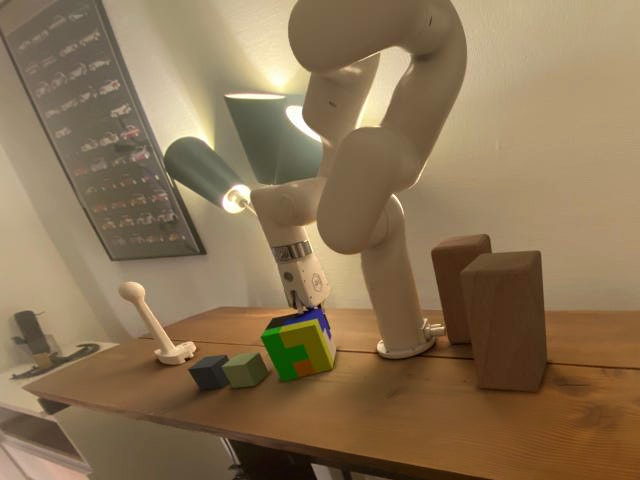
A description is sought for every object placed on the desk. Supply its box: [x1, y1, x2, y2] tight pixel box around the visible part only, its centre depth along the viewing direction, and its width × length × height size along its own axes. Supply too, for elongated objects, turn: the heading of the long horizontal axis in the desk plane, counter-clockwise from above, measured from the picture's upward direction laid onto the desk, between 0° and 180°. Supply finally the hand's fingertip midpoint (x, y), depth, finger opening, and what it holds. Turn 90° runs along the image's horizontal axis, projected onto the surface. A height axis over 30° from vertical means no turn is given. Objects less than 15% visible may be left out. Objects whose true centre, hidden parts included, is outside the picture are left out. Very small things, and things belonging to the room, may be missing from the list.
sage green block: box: [222, 351, 270, 389], centre depth 76 cm, size 5×5×5 cm
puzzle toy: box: [260, 308, 337, 382], centre depth 77 cm, size 10×10×10 cm
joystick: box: [118, 281, 197, 366], centre depth 90 cm, size 11×8×20 cm
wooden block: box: [460, 249, 549, 393], centre depth 60 cm, size 10×10×20 cm
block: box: [430, 233, 493, 345], centre depth 76 cm, size 10×10×20 cm
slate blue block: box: [187, 354, 230, 391], centre depth 77 cm, size 5×5×5 cm
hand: (322, 331), depth 86 cm, fingers closed
